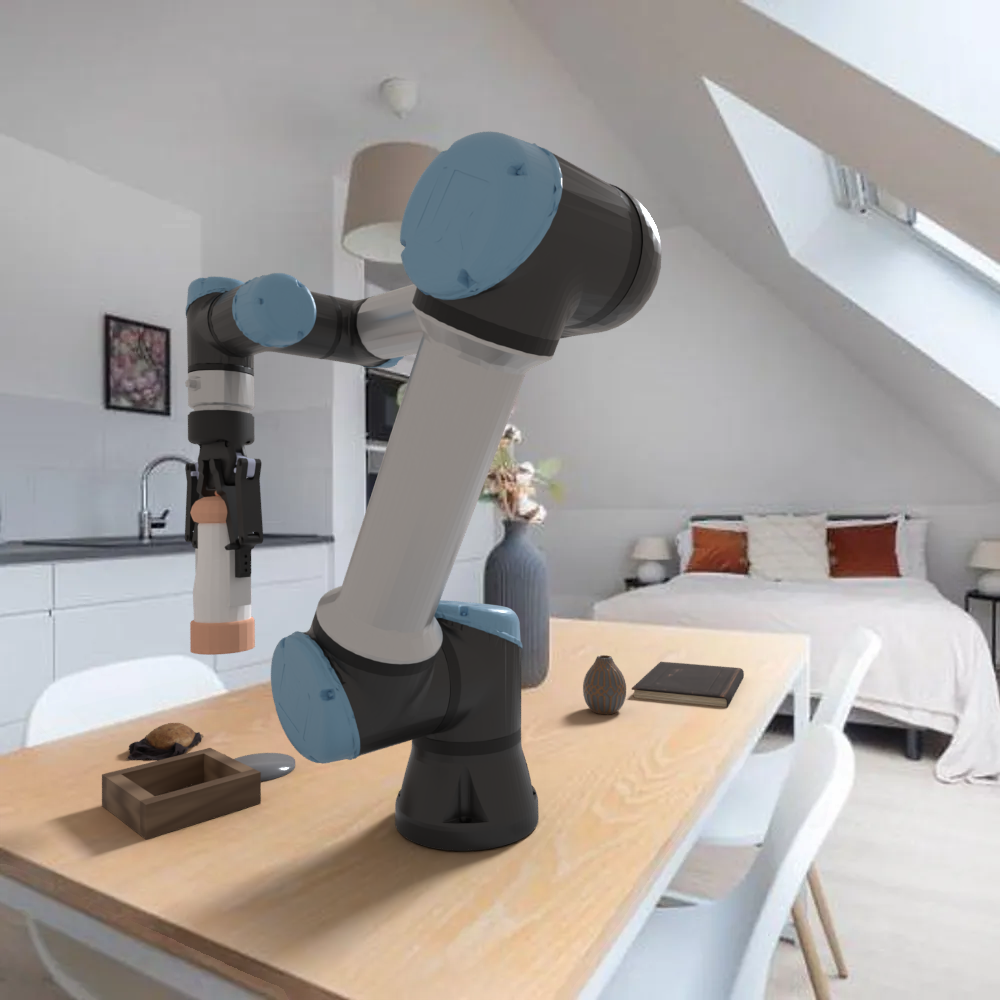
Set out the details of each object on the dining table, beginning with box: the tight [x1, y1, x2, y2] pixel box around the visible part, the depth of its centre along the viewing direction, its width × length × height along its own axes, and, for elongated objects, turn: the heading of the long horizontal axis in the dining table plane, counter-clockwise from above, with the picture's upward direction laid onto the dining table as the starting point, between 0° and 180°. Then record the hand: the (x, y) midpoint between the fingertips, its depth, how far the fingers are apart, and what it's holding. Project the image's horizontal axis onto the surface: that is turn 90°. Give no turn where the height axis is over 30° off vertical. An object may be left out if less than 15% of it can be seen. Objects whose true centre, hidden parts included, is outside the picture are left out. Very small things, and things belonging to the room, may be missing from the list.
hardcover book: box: [631, 661, 745, 708], centre depth 136 cm, size 16×23×2 cm
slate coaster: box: [234, 752, 296, 782], centre depth 95 cm, size 9×9×1 cm
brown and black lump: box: [125, 722, 205, 762], centre depth 104 cm, size 11×8×4 cm
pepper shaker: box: [189, 491, 256, 656], centre depth 90 cm, size 7×7×19 cm
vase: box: [582, 654, 627, 715], centre depth 121 cm, size 7×7×9 cm
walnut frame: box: [101, 747, 262, 840], centre depth 84 cm, size 12×12×4 cm
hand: (222, 602), depth 90 cm, fingers closed on pepper shaker, 7 cm apart
